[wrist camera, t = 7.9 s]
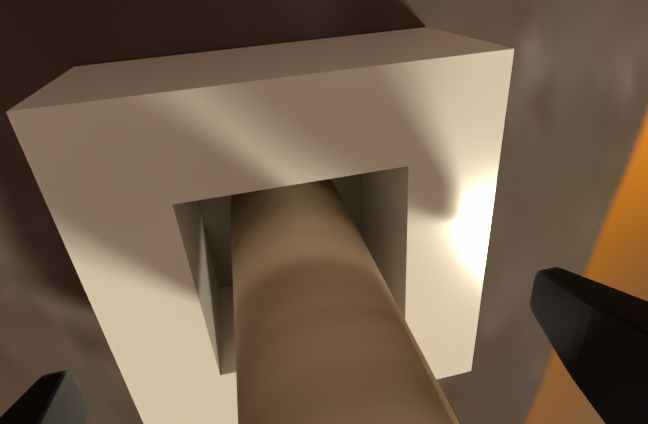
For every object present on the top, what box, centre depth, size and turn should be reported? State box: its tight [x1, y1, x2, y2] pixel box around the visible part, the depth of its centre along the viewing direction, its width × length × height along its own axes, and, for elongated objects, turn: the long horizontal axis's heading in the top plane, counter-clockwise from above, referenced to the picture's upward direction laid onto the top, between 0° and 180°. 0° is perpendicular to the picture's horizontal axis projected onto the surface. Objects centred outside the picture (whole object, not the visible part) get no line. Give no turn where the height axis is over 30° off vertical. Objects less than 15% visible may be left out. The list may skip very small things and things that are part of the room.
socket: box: [6, 27, 514, 424], centre depth 12 cm, size 9×9×4 cm
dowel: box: [230, 179, 459, 424], centre depth 9 cm, size 3×3×10 cm
